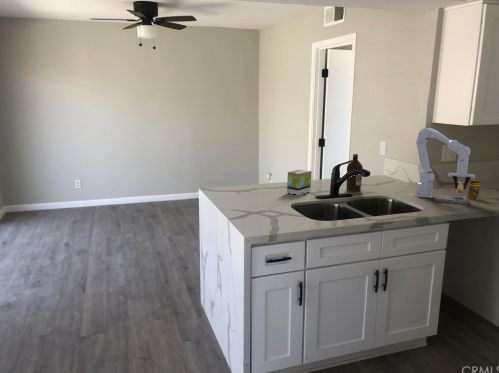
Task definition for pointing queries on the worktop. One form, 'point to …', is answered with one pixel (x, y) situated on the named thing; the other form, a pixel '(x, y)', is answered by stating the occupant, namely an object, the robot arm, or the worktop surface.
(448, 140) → the robot arm
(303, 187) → the tea box
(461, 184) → the bushing
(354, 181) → the olive oil
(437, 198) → the jig
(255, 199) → the worktop surface
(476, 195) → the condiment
